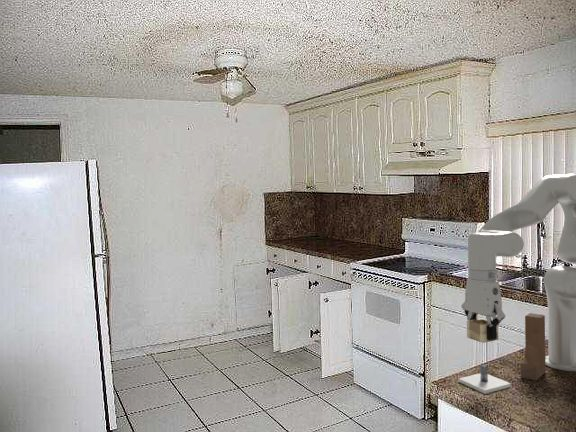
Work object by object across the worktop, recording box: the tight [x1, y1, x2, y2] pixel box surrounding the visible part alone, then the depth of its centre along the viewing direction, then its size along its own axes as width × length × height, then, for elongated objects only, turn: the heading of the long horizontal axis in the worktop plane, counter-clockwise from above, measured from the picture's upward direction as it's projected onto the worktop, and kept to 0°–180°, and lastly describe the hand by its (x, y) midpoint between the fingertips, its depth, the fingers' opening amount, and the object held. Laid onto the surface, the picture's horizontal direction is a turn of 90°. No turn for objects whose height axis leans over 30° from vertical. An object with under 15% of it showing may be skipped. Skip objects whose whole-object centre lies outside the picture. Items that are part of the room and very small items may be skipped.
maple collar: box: [466, 317, 499, 344], centre depth 141 cm, size 6×6×5 cm
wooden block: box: [520, 312, 546, 382], centre depth 147 cm, size 9×4×18 cm, turn 136°
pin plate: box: [458, 364, 512, 395], centre depth 141 cm, size 10×10×6 cm
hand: (482, 335), depth 141 cm, fingers closed on maple collar, 6 cm apart
